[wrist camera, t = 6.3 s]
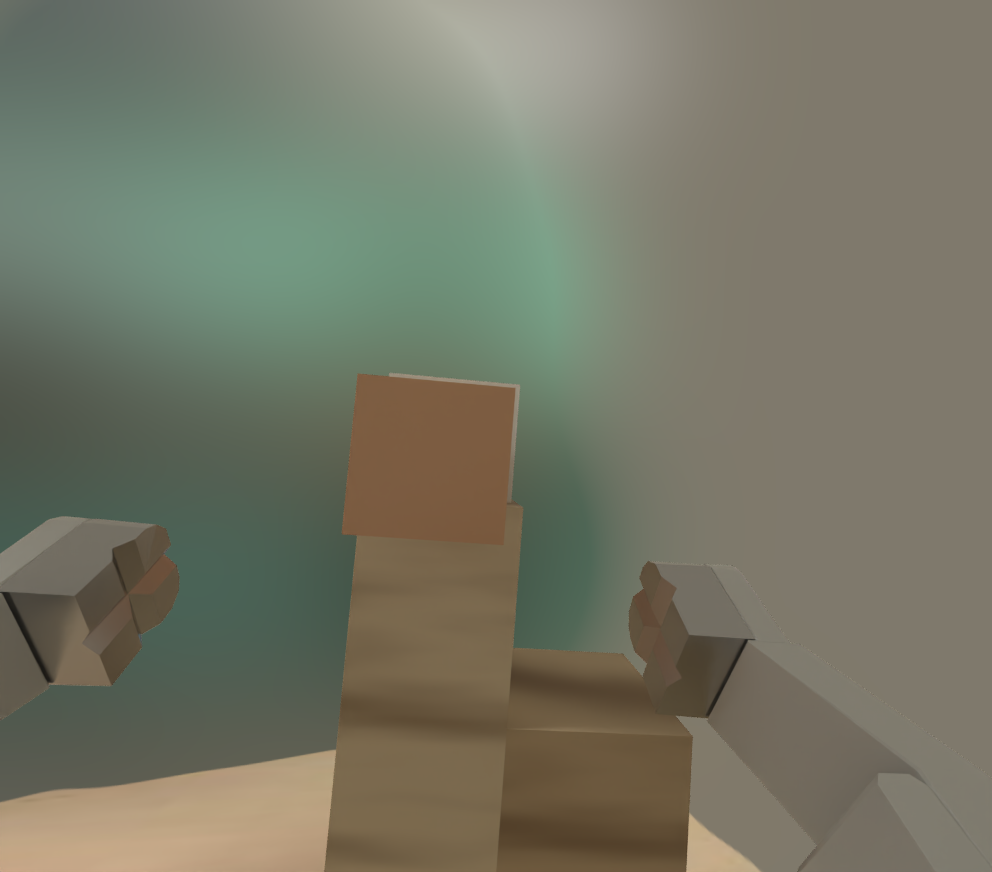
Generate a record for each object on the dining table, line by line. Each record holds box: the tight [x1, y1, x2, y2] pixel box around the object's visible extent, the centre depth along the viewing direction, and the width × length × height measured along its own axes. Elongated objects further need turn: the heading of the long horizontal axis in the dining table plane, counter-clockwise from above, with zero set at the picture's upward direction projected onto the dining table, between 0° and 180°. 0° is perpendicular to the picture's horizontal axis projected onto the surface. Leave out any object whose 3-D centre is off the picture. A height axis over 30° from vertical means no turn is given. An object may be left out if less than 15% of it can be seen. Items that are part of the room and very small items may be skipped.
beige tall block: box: [324, 499, 693, 872], centre depth 20 cm, size 8×13×26 cm, turn 94°
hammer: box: [342, 373, 520, 545], centre depth 17 cm, size 16×6×5 cm, turn 4°
